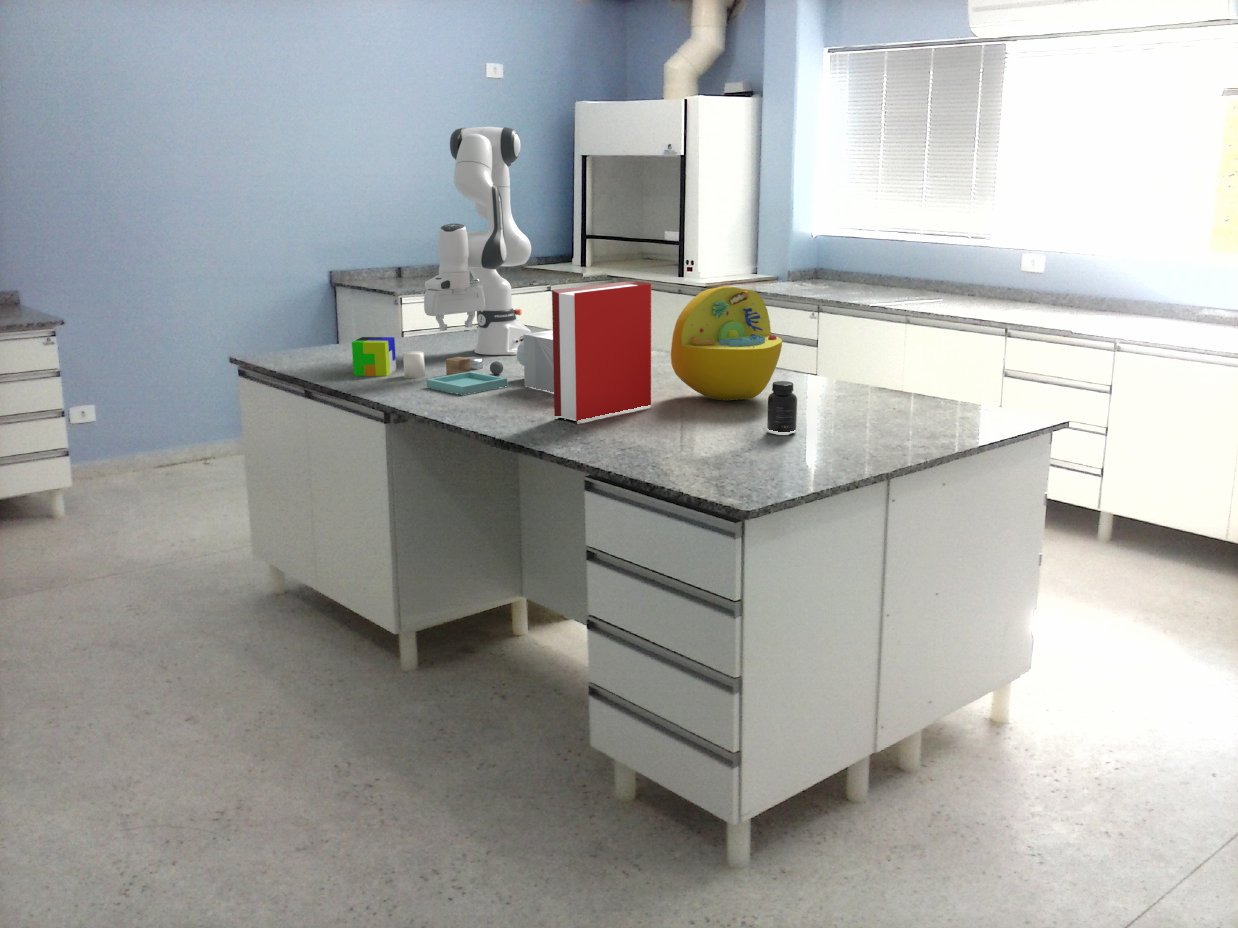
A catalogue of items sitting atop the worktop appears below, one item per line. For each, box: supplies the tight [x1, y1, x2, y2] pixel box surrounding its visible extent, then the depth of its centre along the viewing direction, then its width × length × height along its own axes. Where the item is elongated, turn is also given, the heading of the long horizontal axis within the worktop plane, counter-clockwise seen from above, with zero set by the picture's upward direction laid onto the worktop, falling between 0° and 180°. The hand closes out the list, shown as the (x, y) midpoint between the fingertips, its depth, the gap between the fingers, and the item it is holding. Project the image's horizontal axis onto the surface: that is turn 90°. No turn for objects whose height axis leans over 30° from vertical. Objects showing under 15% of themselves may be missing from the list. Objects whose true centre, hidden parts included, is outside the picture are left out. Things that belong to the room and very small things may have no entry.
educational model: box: [670, 285, 783, 401], centre depth 308 cm, size 29×30×30 cm
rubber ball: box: [489, 360, 504, 376], centre depth 347 cm, size 4×4×4 cm
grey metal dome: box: [464, 356, 484, 371], centre depth 358 cm, size 7×7×3 cm
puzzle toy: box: [351, 336, 397, 377], centre depth 351 cm, size 10×10×10 cm
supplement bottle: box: [766, 380, 798, 432], centre depth 275 cm, size 7×7×12 cm
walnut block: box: [445, 356, 471, 376], centre depth 347 cm, size 5×5×5 cm
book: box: [551, 280, 652, 421], centre depth 293 cm, size 27×8×32 cm, turn 134°
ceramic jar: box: [402, 350, 426, 379], centre depth 345 cm, size 6×6×7 cm
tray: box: [425, 370, 508, 396], centre depth 330 cm, size 16×16×2 cm
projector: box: [516, 329, 554, 392], centre depth 329 cm, size 35×19×15 cm, turn 42°
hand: (456, 328), depth 344 cm, fingers open, 8 cm apart
